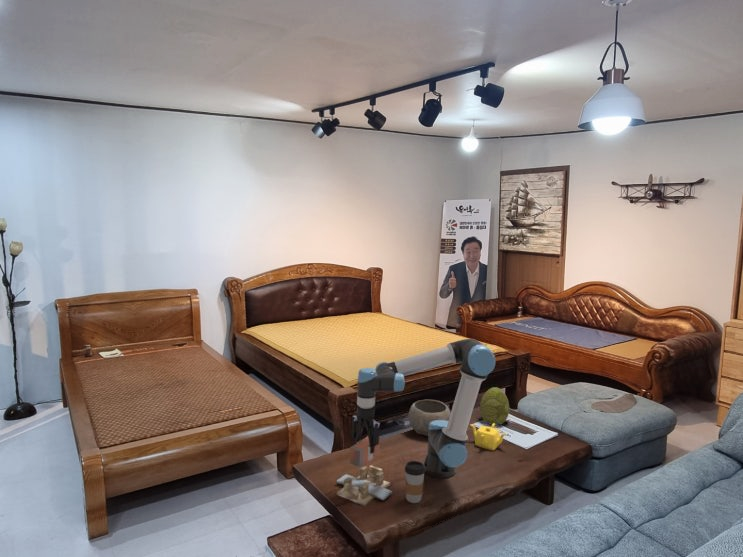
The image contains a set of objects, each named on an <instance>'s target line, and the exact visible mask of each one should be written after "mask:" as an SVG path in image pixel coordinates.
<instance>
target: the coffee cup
mask: <svg viewBox="0 0 743 557" xmlns="http://www.w3.org/2000/svg"><path fill="white" fill-rule="evenodd" d="M423 464H424V463H422V462H421V461H418V460H417V461H416V460H412V461H411V460H410V461H408V462H406V464H405V466H404V472H405V473H404V475H405V476H404V477H405V479H404V480H405V481H404V482H405V498H406V501H407V502H409V503H412V504H417V503H420V502H421V501H422V496H423V491H424V489H423V488H424V481H425V480H424V479H425V478H424V477H425V473H426V472H425V468H424V465H423Z"/></svg>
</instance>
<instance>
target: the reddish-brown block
mask: <svg viewBox="0 0 743 557" xmlns="http://www.w3.org/2000/svg"><path fill="white" fill-rule="evenodd" d="M380 439H381V438H380V437H379V444H378V445H376V446H375V448H374V453H373V458H375V457H376V456H377V455H379V454H380ZM360 440H361V441H360V442H358V443H357V444H355V443H354V445H351V446H350V448H349V464H350V465H353V466H356V467H358V468H362V467H363V466H364V465H365V464H366V463H368V462H369V461H368V446H369V445H370V444H369V438H368V435H367V436H366V437H365V438H363V439H360Z"/></svg>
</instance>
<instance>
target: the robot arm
mask: <svg viewBox="0 0 743 557" xmlns="http://www.w3.org/2000/svg"><path fill="white" fill-rule="evenodd" d="M448 364H453V365H456V364H460V369H459V372H460V373H461V378H460V380H459V384H458V388H457V391H456V395H455V398H454V401H453V404H452V407H451V408H452V409H451V410H450V413H451V414H450V417H449V421H446V420H435V421H432V422H430V424H429V428H428V429H429V434H428V436H427V439H428V440H427V442H428V443H427V453H426V456H425V458H424V461H423V463H422V464H423V465H424V468H425V473H426V475H427V474H428V475H430V476H432V477H435V478H443V479H444V478H450V477H452V476H454V475H455V474H456V472H457V468H458V467H459V466H461V465H463V464H464V463H465V462H466V460H467V458H468V450H467V448H466V446H467V444H468V440H469V436H468V434H467V430H468V427H469V425H470V420H471V417H472V414H473V411H474V407H475V404H476V401H477V398H478V394H479V391H480V388H481V384H482V383H483V381H485V380H487V378H488V375H490V373H491V372H493V370H494V369H495V366H496V356H495V354H494V352H493V351H492V350H491V349H490V348H489V347H488V346H486V345H485V344H483V343H482V342H481V341H479V340H477V339H476V338H475V339H474V338H465V339H460V340H457V341H453V342H449V343H447V344H446V346H443V347H440V348H436V349H433V350H429V351H426V352H422V353H419V354H416V355H413V356H409V357H406V358H402V359H399V360H396V361H392V362H387V361H382V362H379V363H378V364H377V365H376V366H375V369H374V368H372V367H370V368H369V367H363V368H361V369H359V370H358V373H357V374H358V376H357V396H356V397H357V401H356V405H357V406H356V414H357V415H356V414H355V415H352V416H351V417H350V419H351V440H354V442H355V443H354V445H355V444H357V443H358V442H360V441H361V440H362V435H363V432H364V428H365V431H366V432H367V436H368V438H369V444H370V445H369V446H368V462H370V461H372V460H374V457H373V453H374V448H375V446H376V445H378V444H379V445H380V443H379V438H380V426H381V421H379V422H378V421H376V419H375V414H376V413H375V412H376V393H394V392H395V393H396V392H402V391H404V389H405V386H406V385H405V377H407V376H410V375H414V374H417V373H420V372H424V371H427V370H430V369H434V368H438V367H441V366H445V365H448Z"/></svg>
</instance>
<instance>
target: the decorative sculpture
mask: <svg viewBox="0 0 743 557" xmlns="http://www.w3.org/2000/svg"><path fill="white" fill-rule="evenodd" d="M479 411H480V416H481V418H482V419H483V421H484V422H485V423H487V422H488V423H487V424H489V423H491V424H490V425H492V424H493V423H495V424H499V425H503V424H504V423H505V422H506V421H507V419H508V417H509V415H510V414H509V413H510V404H509V399H508V396H507V395H506V393H505V392H504V391H503V390H502V389H501V388H499V387H497V386H496V387H494V386H493V387H491V388H489V389H487V391H485V393H484V394H483V395H482V397H481V400H480V404H479Z"/></svg>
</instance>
